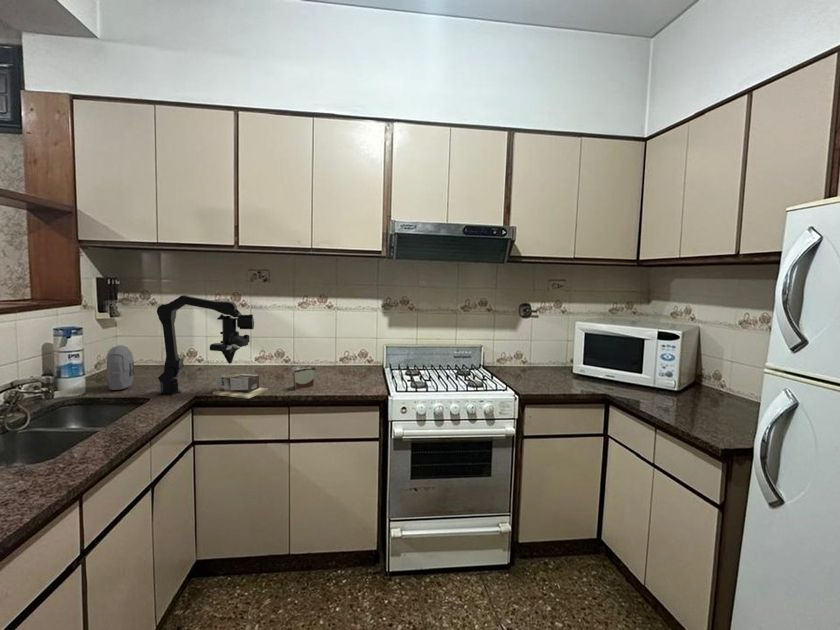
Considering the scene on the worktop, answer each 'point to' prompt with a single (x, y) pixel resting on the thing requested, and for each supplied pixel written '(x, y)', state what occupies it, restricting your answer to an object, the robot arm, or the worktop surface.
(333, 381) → the worktop surface
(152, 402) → the worktop surface
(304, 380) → the food container
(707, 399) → the worktop surface
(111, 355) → the grey rounded bag
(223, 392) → the cutting board
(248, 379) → the coffee box
